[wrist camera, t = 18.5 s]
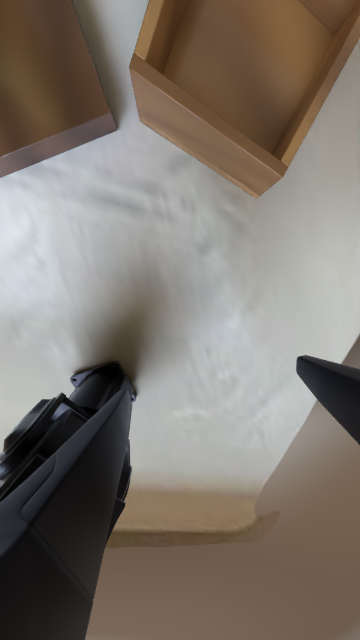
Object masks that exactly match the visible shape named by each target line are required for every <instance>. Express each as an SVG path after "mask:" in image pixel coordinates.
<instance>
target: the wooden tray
mask: <svg viewBox="0 0 360 640" xmlns="http://www.w3.org/2000/svg"><path fill="white" fill-rule="evenodd" d="M359 38H360V0H149V3H148V6H147V9H146V13H145V16H144V20H143V23H142V26H141V30H140V33H139V37H138V40H137V43H136V47H135V50H134V53H133V56H132V59H131V63H130V66H129V70H130V75H131V80H132V85H133V90H134V94H135V99H136V104H137V109H138V114H139V119H140V122H142V123H143V124H145V125H146V126H148V127H150V128H151V129H153V130H154V131H156V132H157V133H159V134H160V135H162V136H163V137H165V138H166V139H168V140H169V141H171V142H172V143H174V144H175V145H177V146H178V147H180V148H181V149H183V150H184V151H186V152H187V153H189V154H190V155H192V156H193V157H195V158H196V159H198V160H199V161H201V162H202V163H204V164H205V165H207V166H208V167H210V168H211V169H213V170H214V171H216V172H217V173H219V174H220V175H222V176H224V177H225V178H227V179H228V180H230V181H231V182H233V183H234V184H236V185H237V186H239V187H240V188H242V189H243V190H245V191H246V192H248V193H249V194H251V195H252V196H254V197H255V198H258V197H259V196H260V195H262V194H263V193H264V192H265V191H267V190H268V189H269V188H270V187H272V186H273V185H274V184H275V183H276V182H278V181H279V180H280V179H281V178H283V176H284V174H285V172H286V171H287V169H288V166H289V165H290V163H291V161H292V159H293V158H294V156H295V154H296V152H297V150H298V149H299V147H300V145H301V143H302V141H303V139H304V138H305V136H306V134H307V132H308V130H309V129H310V127H311V125H312V123H313V121H314V120H315V118H316V116H317V114H318V112H319V110H320V109H321V107H322V105H323V103H324V101H325V100H326V98H327V96H328V94H329V92H330V90H331V89H332V87H333V85H334V83H335V81H336V80H337V78H338V76H339V74H340V72H341V70H342V69H343V67H344V65H345V63H346V61H347V60H348V58H349V56H350V54H351V52H352V51H353V49H354V47H355V45H356V43H357V41H358V40H359Z"/></svg>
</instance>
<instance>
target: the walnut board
mask: <svg viewBox="0 0 360 640" xmlns="http://www.w3.org/2000/svg"><path fill="white" fill-rule="evenodd" d="M114 131H117V127H116V124H115V122H114V119H113V116H112V113H111V110H110V107H109V104H108V102H107V99H106V96H105V93H104V90H103V87H102V84H101V82H100V79H99V76H98V73H97V70H96V67H95V65H94V62H93V59H92V56H91V53H90V50H89V47H88V45H87V42H86V39H85V36H84V33H83V30H82V28H81V25H80V22H79V19H78V16H77V13H76V10H75V8H74V5H73V2H72V0H0V178H1V177H3V176H6V175H8V174H11V173H13V172H16V171H18V170H20V169H23V168H25V167H28V166H30V165H33V164H35V163H38V162H40V161H43V160H45V159H48V158H50V157H53V156H55V155H57V154H60V153H62V152H65V151H67V150H70V149H72V148H75V147H77V146H80V145H82V144H85V143H87V142H89V141H92V140H94V139H97V138H99V137H102V136H104V135H107V134H109V133H112V132H114Z"/></svg>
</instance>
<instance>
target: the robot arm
mask: <svg viewBox="0 0 360 640" xmlns="http://www.w3.org/2000/svg"><path fill="white" fill-rule="evenodd" d="M114 365H116V366H114ZM296 371H297V374H298V375H299V377H300V378H301V379H302V380H303V382H304V383H305V384H306V386H307V387H308V388H309V389H310V391H311V392H312V393H313V394H314V396H315V397H316V398H317V399H318V401H319V402H320V403H321V404H322V405H323V406H324V407H325V408H326V409H327V410H328V411H329V413H330V414H331V415H332V416H333V417H334V418H335V419H336V420H337V421H338V422H339V423H340V424H341V425H342V426H343V427H344V429H345V430H346V431H347V432H348V433H349V434H350V435H351V436H352V437H353V438H354V439H355V440H356V441H357V442H358V444H359V445H360V369H356V368H353V367H349V366H345V365H342V364H338V363H334V362H330V361H326V360H323V359H319V358H315V357H311V356H307V355H304V356H299V357H298V358H297V365H296ZM74 378H76V379H74ZM70 380H71V382H72V383H73V385H74V386H75V388H76V389H75V390H74V392H73V393H72V394H71V395H70V397H69V398H67V397H66V395H65V394H64V393H62V392H61V393H60V394H59V395H58V396H57V397H56V398H55V397H54V398H53V399H50V400H49V399H42V400H41V401H40V402H39V403H38V404H37V405H36V406H35V407H34V408H33V409H32V410H31V411H30V412H29V413H28V414H27V415H26V416H25V417H24V418H23V419H22V420H21V421H20V423H19V424H18V425H17V426H16V427H15V428H14V429H13V431H12V432H11V433H10V434H9V435H8V436H7V437H6V439H5V440H4V448H3V451H2V453H1V454H0V640H85V637H86V633H87V628H88V623H89V619H90V614H91V610H92V605H93V599H94V595H95V590H96V586H97V581H98V577H99V572H100V567H101V563H102V558H103V554H104V549H105V546H106V544H107V541H108V539H109V537H110V534H111V532H112V530H113V528H114V525H115V523H116V522H117V520H118V518H119V516H120V514H121V513H122V511H123V509H124V507H125V502H124V500H125V497H126V495H127V492H128V488H129V484H130V476H131V472H132V467H131V466H130V443H129V439H128V437H129V430H130V421H131V412H132V402H134V401H135V400H136V395H135V393H134V391H133V390H134V389H133V387H132V385H131V383H130V381H129V379H128V377H127V375H125V374H124V372H123V370H122V368H121V366H120V364H119V363H118V362H117V361H113V362H110V363H107V364H104V365H101V366H98V367H95V368H92V369H89V370H87V371H84V372H81V373H78V374H75V375H73V376H72V377H71V378H70Z"/></svg>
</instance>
